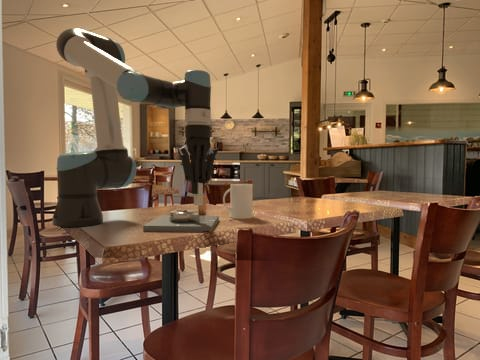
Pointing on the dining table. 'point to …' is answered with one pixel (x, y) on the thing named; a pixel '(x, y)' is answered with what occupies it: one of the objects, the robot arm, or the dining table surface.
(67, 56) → the robot arm
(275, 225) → the dining table surface
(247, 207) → the mug
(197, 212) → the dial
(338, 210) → the dining table surface
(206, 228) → the panel
